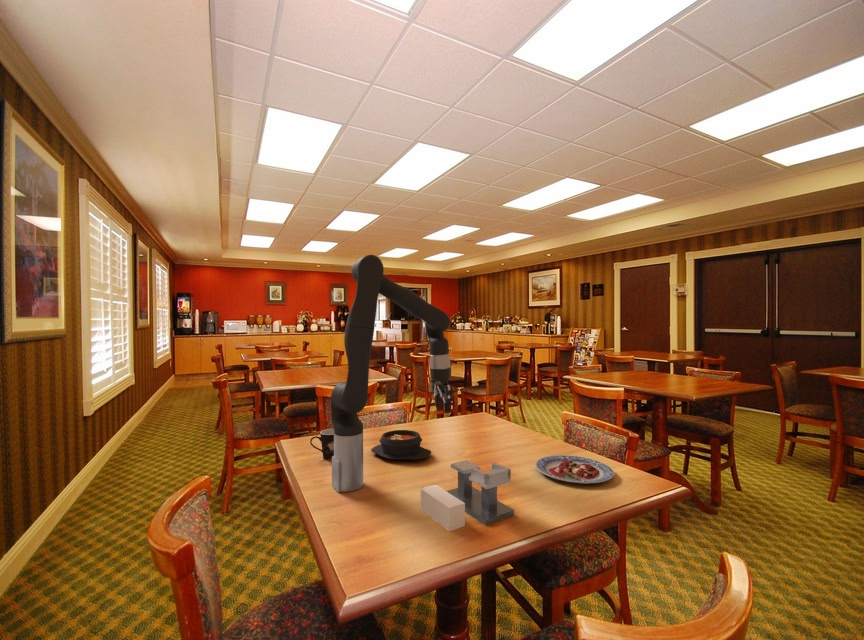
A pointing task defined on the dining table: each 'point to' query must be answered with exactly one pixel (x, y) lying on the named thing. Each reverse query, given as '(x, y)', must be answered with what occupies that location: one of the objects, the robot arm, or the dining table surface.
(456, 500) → the white rectangular block
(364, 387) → the robot arm
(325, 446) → the coffee mug
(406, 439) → the casserole
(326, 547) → the dining table surface
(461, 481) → the stand
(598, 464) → the ceramic plate
